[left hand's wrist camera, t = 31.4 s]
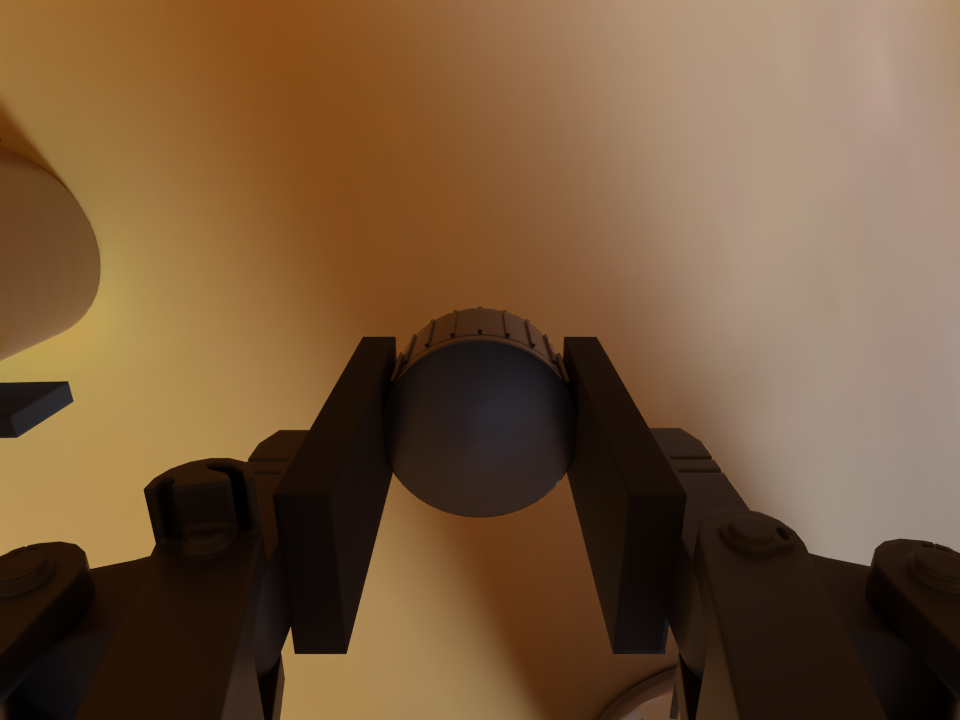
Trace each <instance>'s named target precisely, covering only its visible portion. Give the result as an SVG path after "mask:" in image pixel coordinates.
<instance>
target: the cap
mask: <svg viewBox="0 0 960 720" xmlns="http://www.w3.org/2000/svg"><path fill="white" fill-rule="evenodd" d="M389 384H391V386H390V388H389V391H388V394H387V397H386V400H385V403H384V406H383V409H382V426H383V442H384V454H385V456H386V459H387V461H388V463H389V466H390V467H391V469H392V471H393V472H394V474H395V476H396V477H397V478H398V479H399V481H400V482H401V483H402V484H403V485H404V486H405V487H406V488H407V489H408V490H409V491H410V492H411V493H412V494H413V495H415V496H416V497H417V498H419V499H420V500H422V501H423V502H425V503H427V504H428V505H430V506H432V507H434V508H437V509H439V510H441V511H444V512H448V513H451V514H454V515H460V516H465V517H493V516H500V515H505V514H509V513H512V512H515V511H518V510H520V509H523V508H526V507H527V506H529V505H531V504H533V503H535V502H537V501H538V500H539V499H541V498H542V497H544V496H545V495H546V494H547V493H549V492H550V491H551V490H552V489H553V488H554V487H555V486H556V485H557V484H558V483H559V481H560V480H561V479H562V478H563V476H564V475H565V473H566V472H567V470H568V469H569V467H570V465H571V462H572V460H573V458H574V455H575V450H576V435H577V419H578V411H577V407H576V404H575V400H574V398H573V395H572V392H571V389H570V386H569V384H571V382H570V379H569V376H568V374H567V371H566V368H565V365H564V363H563V360H562V357H561V355H560V353H558V354H557V352H556V351H555V349H554V347H553V346H552V344H551V343H550V341H549V338H548V336H547V335H546V334H545V335H544V334H542V333H541V332H540V331H539V330H538V329H537V328H536V327H534V326H533V325H532V324H530V321H529V320H527V319H526V320H524V319H522V318H520V317H518V316H516V315H513V314H510V313H507V311H506V310H503V311H499V310H495V309H485V308H482V307H478V308H476V309H466V310H460V311H457V310H453V313H449V314H446V315H444V316H442V317H440V318H438V319H436V320H434V319H432V320H431V321H430V323H429V324H428V325H426V326H425V327H424V328H423V329H422V330H420V331H419V332H418V333H417V334H416V335H415V334H413V335H412V337H411V340H410V342H409V344H408V345H407V347H406V348H405V350H404V352H403V353H400V354H399V356H398V359H397V362H396V364H395V367H394V370H393V373H392V375H391V378H390V381H389Z"/></svg>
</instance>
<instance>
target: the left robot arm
mask: <svg viewBox="0 0 960 720" xmlns="http://www.w3.org/2000/svg"><path fill="white" fill-rule="evenodd" d="M396 362H397V355H396V337H363V338H362V340H361V341H360V343H359V345H358V347H357V348H356V350H355V352H354V354H353V355H352V357H351V359H350V361H349V362H348V364H347V366H346V368H345V369H344V371H343V373H342V374H341V376H340V378H339V380H338V381H337V383H336V385H335V387H334V388H333V390H332V392H331V394H330V395H329V397H328V399H327V401H326V402H325V404H324V406H323V408H322V409H321V411H320V413H319V415H318V416H317V418H316V420H315V422H314V423H313V425H312V427H311V429H310V430H279V431H278V432H276V433H275V434H273V435H271V436H270V437H268V438H267V439H265V440H264V441H262V442H261V443H259V444H258V446H257V447H256V449H255V450H254V451H253V453H252V454H251V456H250V457H249V459H248V462H246V463H245V462H243V461H239V460H235V459H231V458H209V459H203V460H198V461H192V462H188V463H186V464H183V465H180V466H177V467H174V468H171V469H169V470H168V471H166V472H164V473H163V474H161V475H159V476H157V477H156V478H154V479H153V480H152V481H151V482H150V483H149V484H148V485H147V486H146V487H145V489H144V493H145V498H146V502H147V506H148V511H149V515H150V520H151V524H152V528H153V533H154V537H155V541H156V545H155V547H154V549H153V552H152V554H151V556H148V557H145V558H141V559H137V560H133V561H128V562H123V563H118V564H113V565H108V566H103V567H98V568H94V569H90V568H89V564H88V561H87V557H86V554H85V552H84V551H83V550H82V549H81V548H80V547H79V546H77V545H76V544H71V543H66V542H49V543H38V544H33V545H28V546H27V547H25V546H24V547H21V548H18V549H15V550H12V551H10V552H9V553H7V554H5V555H2V556H0V720H280V714H281V706H282V697H283V689H284V681H285V677H284V670H283V663H282V656H281V650H282V648H283V645H284V643H285V640H286V637H287V635H288V632H289V629H290V627H291V630H292V637H293V644H294V651H295V654H347V650H348V646H349V642H350V638H351V634H352V630H353V626H354V622H355V618H356V614H357V611H358V607H359V603H360V599H361V595H362V591H363V587H364V583H365V579H366V575H367V571H368V568H369V564H370V560H371V556H372V552H373V548H374V544H375V540H376V536H377V532H378V528H379V525H380V521H381V517H382V513H383V509H384V505H385V501H386V497H387V493H388V489H389V485H390V482H391V478H392V474H393V471H392V469H391V467H390V466H389V463H388V461H387V459H386V456H385V454H384V442H383V426H382V409H383V406H384V403H385V400H386V397H387V394H388V391H389V388H390V386H391V384H389V381H390V378H391V375H392V373H393V370H394V367H395V364H396ZM563 363H564V365H565V368H566V371H567V374H568V376H569V379H570V382H571V384H569V386H570V389H571V392H572V395H573V398H574V400H575V404H576V407H577V411H578V419H577V435H576V450H575V455H574V458H573V460H572V462H571V465H570V467H569V469H568V470H567V475H568V479H569V483H570V487H571V491H572V495H573V499H574V503H575V507H576V510H577V514H578V518H579V522H580V526H581V530H582V534H583V538H584V542H585V546H586V550H587V553H588V557H589V561H590V565H591V569H592V573H593V577H594V581H595V585H596V589H597V593H598V596H599V600H600V604H601V608H602V612H603V616H604V620H605V624H606V628H607V632H608V636H609V639H610V643H611V647H612V651H613V654H665V648H666V641H667V634H668V627H669V625H670V627H671V630H672V633H673V635H674V638H675V640H676V643H677V646H678V648H679V656H678V663H677V667H676V668H673V669H670V670H667V671H665V672H662V673H660V674H658V675H655V676H653V677H651V678H649V679H647V680H645V681H644V682H642V683H640V684H638V685H637V686H635V687H634V688H632V689H630V690H629V691H627V692H626V693H625V694H624V695H622V696H621V697H620V698H618V699H617V700H616V701H615V702H614V703H613V704H612V705H611V706H610V707H609V708H608V709H607V710H606V711H605V712H604V713H603V714H602V715H601V717H600V718H599V719H598V720H960V553H958V552H956V551H953V550H952V549H950V548H948V547H945V546H942V545H939V544H933V543H932V542H927V541H920V540H909V539H896V540H890V541H885V542H883V543H882V544H881V545H879V546H878V547H877V548H876V549H875V552H874V555H873V559H872V562H871V566H865V565H860V564H855V563H850V562H845V561H840V560H835V559H830V558H825V557H822V556H818V555H814V554H810V553H808V551H807V548H806V546H805V544H804V543H803V541H802V540H801V539H800V537H799V536H798V535H797V534H796V532H795V531H794V530H792V529H791V528H789V527H788V526H786V525H785V524H783V523H782V522H781V521H779V520H777V519H774V518H772V517H769V516H767V515H765V514H762V513H760V512H755V511H750V510H749V508H748V507H747V505H746V504H745V503H744V501H743V500H742V498H741V497H740V496H739V494H738V493H737V491H736V490H735V489H734V487H733V486H732V484H731V483H730V482H729V480H728V479H727V477H726V476H725V475H724V473H721V469H720V468H719V466H718V465H717V464H716V462H715V461H714V460H712V457H711V455H710V454H709V452H708V451H707V450H706V448H705V447H704V445H703V444H702V443H701V441H699V440H698V439H696V438H695V437H693V436H692V435H690V434H688V433H687V432H685V431H684V430H682V429H681V428H648V426H647V424H646V422H645V421H644V419H643V417H642V415H641V414H640V412H639V410H638V408H637V407H636V405H635V403H634V401H633V400H632V398H631V396H630V394H629V393H628V391H627V389H626V387H625V386H624V384H623V382H622V380H621V379H620V377H619V375H618V373H617V372H616V370H615V368H614V366H613V365H612V363H611V361H610V360H609V358H608V356H607V354H606V353H605V351H604V349H603V347H602V346H601V344H600V342H599V340H598V339H597V337H564V348H563Z"/></svg>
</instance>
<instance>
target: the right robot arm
mask: <svg viewBox="0 0 960 720" xmlns="http://www.w3.org/2000/svg"><path fill="white" fill-rule="evenodd" d="M0 141H1V140H0ZM72 402H73V398H72V394H71V391H70V387H69V383H68V381H63V382H19V383H0V438H17V437H19V436H20V435H22V434H24V433H25V432H27V431H28V430H30V429H31V428H33V427H34V426H36V425H38V424H39V423H41V422H42V421H44V420H45V419H47V418H49V417H50V416H52V415H53V414H55V413H56V412H58V411H59V410H61V409H63V408H64V407H66V406H67V405H69V404H70V403H72Z"/></svg>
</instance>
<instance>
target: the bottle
mask: <svg viewBox="0 0 960 720" xmlns="http://www.w3.org/2000/svg"><path fill="white" fill-rule="evenodd" d="M99 279H100V256H99V250H98V245H97V242H96V238H95V235H94V232H93V230H92V227H91V225H90V222H89V221H88V219H87V217H86V215H85V213H84V212H83V210H82V208H81V207H80V205H79V204H78V203H77V201H76V200H75V198H74V197H73V196H72V195H71V194H70V192H69V191H68V190H67V189H66V188H65V187H64V186H63V185H62V184H61V183H60V182H59V181H58V180H57V179H56V178H55V177H54V176H52V175H51V174H50V173H48V172H47V171H46V170H44V169H43V168H42V167H40V166H39V165H37V164H35V163H34V162H32V161H30V160H29V159H27V158H25V157H22V156H20V155H18V154H16V153H14V152H11V151H8V150H5V149H2V148H0V361H1V360H3V359H6V358H8V357H10V356H12V355H14V354H16V353H19V352H21V351H23V350H25V349H27V348H30V347H32V346H34V345H36V344H38V343H40V342H43V341H45V340H47V339H49V338H51V337H54V336H56V335H58V334H60V333H62V332H64V331H66V330H67V329H69V328H71V327H72V326H73V325H74V324H76V323H77V322H78V321H79V320H80V319H81V318H82V317H83V316H84V315H85V313H86V312H87V311H88V309H89V308H90V306H91V304H92V302H93V300H94V298H95V295H96V292H97V289H98V285H99Z"/></svg>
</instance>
